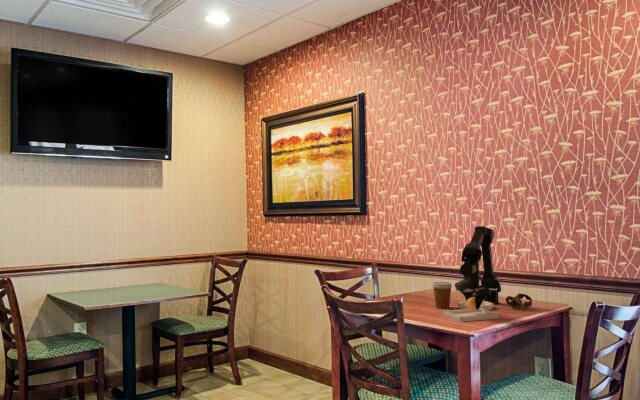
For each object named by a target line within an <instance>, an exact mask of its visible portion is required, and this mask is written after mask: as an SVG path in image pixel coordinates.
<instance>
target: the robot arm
mask: <svg viewBox="0 0 640 400" xmlns="http://www.w3.org/2000/svg"><path fill="white" fill-rule="evenodd" d="M494 238H495V231H494V229H492V228H490V227H486V226H482V225H481V226H478V225H477V226H475V227H474V232H473V234H472V237H471V239H470V241H469V243H468V242H467V244H465V245H464V248H463V249H462V253H461V259H460V260H461V261H460V262H463V264H461V265H460V268H459V272H460V274H461V275H462V276H463V279H461V280H459V281H457V282H455V283H454V287H455V290H456V291H458V292H459V293H461V294H462V295H463V296H464V298H465V301H466V302H467V300H468V299H469V298H471V297H474V298H475V305H476V310H479V308H480V306H481V303H482V301H487V302H491V303H494V305H499V304H501V302H499V293H501V292H502V286H501V282H500V280H499V279H498V278H499V276H498V275H497V274H496V272H495V271H494V262H493V253H492V243H493V240H494ZM481 260H482V264H483V275H482V276H481V275H480V264H479V263H480V261H481Z"/></svg>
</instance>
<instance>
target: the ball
mask: <svg viewBox="0 0 640 400" xmlns="http://www.w3.org/2000/svg"><path fill="white" fill-rule="evenodd" d="M466 305H467V307H468V309H470V310H472V311H475V310H476V305H475V298H474V297H471V298H469V299H468V300H467V303H466Z"/></svg>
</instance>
